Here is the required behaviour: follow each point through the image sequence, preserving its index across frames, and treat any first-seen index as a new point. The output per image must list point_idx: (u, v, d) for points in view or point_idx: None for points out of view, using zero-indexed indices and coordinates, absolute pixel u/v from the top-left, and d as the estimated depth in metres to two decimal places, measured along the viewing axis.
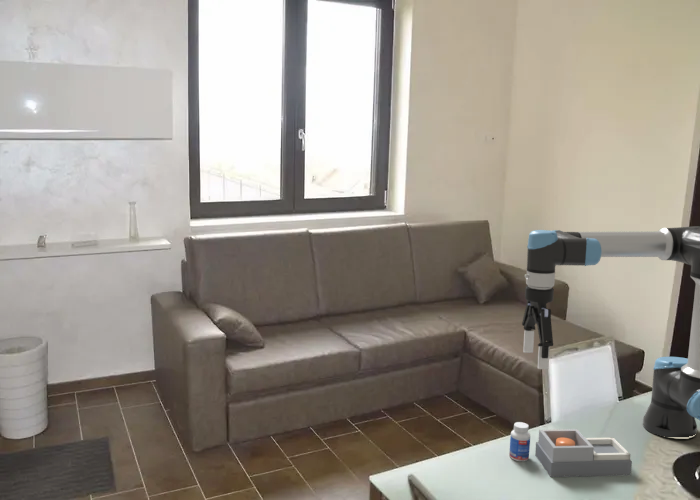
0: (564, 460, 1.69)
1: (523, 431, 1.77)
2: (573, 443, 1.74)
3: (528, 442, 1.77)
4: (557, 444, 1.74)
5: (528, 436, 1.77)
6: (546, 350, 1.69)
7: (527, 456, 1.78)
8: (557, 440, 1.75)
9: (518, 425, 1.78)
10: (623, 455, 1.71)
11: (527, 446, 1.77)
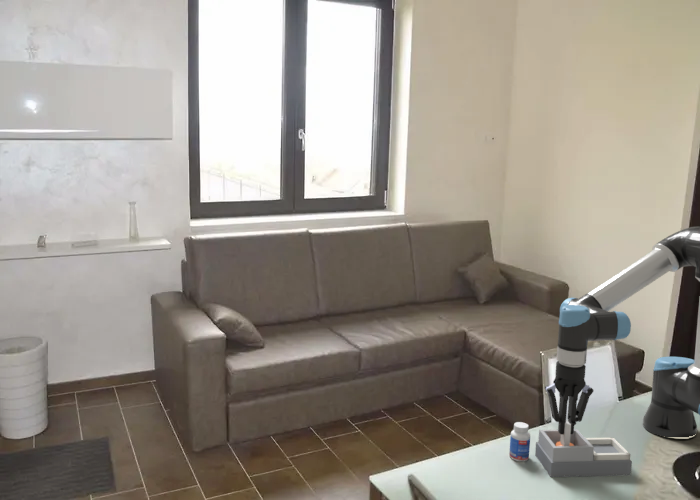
0: (564, 460, 1.69)
1: (523, 431, 1.77)
2: None
3: (528, 442, 1.77)
4: None
5: (528, 436, 1.77)
6: (559, 425, 1.74)
7: (527, 456, 1.78)
8: (557, 444, 1.75)
9: (518, 425, 1.78)
10: (623, 455, 1.71)
11: (527, 446, 1.77)
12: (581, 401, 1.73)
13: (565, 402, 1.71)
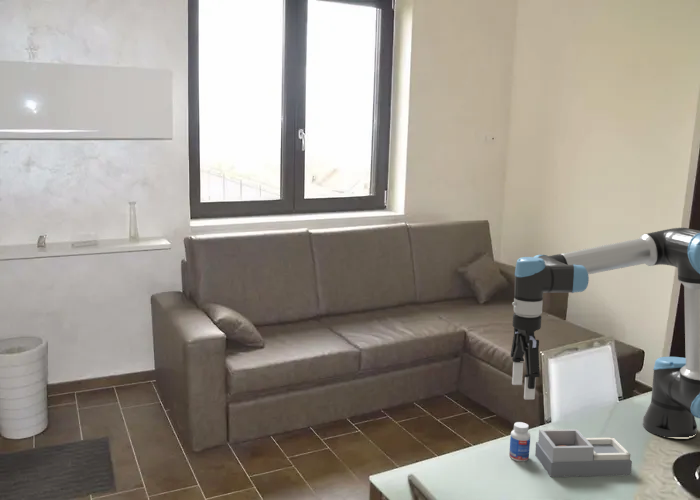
0: (564, 460, 1.69)
1: (523, 431, 1.77)
2: None
3: (528, 442, 1.77)
4: None
5: (528, 436, 1.77)
6: (532, 381, 1.69)
7: (527, 456, 1.78)
8: None
9: (518, 425, 1.78)
10: (623, 455, 1.71)
11: (527, 446, 1.77)
12: None
13: None
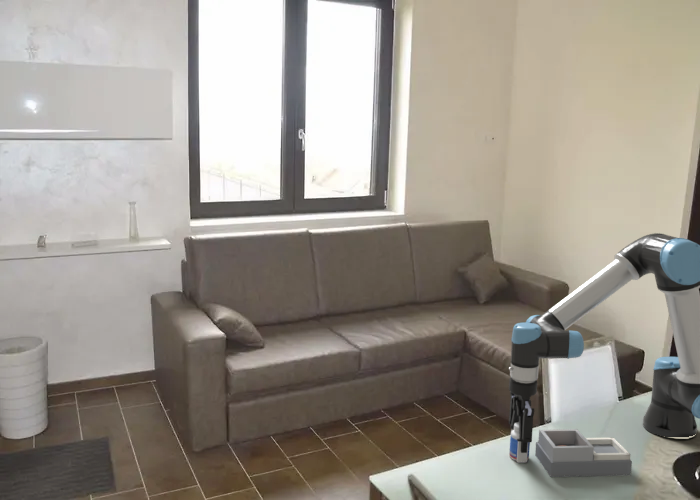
0: (564, 460, 1.69)
1: None
2: None
3: (528, 442, 1.77)
4: None
5: None
6: (525, 445, 1.75)
7: (527, 456, 1.78)
8: None
9: (518, 425, 1.78)
10: (623, 455, 1.71)
11: None
12: None
13: None
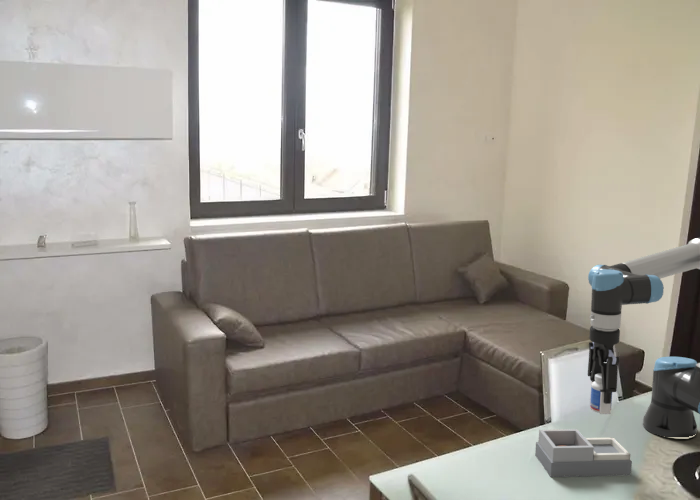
0: (564, 460, 1.69)
1: None
2: None
3: None
4: None
5: None
6: (609, 396, 1.69)
7: None
8: None
9: (600, 376, 1.72)
10: (623, 455, 1.71)
11: None
12: None
13: None
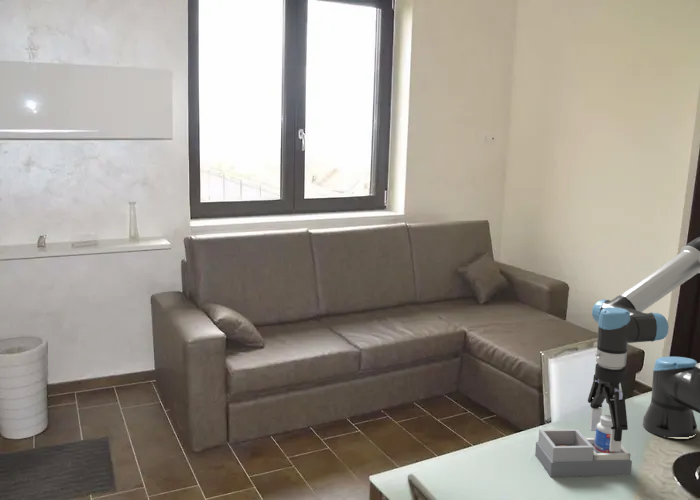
0: (564, 460, 1.69)
1: (611, 424, 1.72)
2: None
3: None
4: None
5: None
6: (619, 433, 1.67)
7: None
8: None
9: (605, 418, 1.73)
10: (623, 455, 1.71)
11: None
12: None
13: None
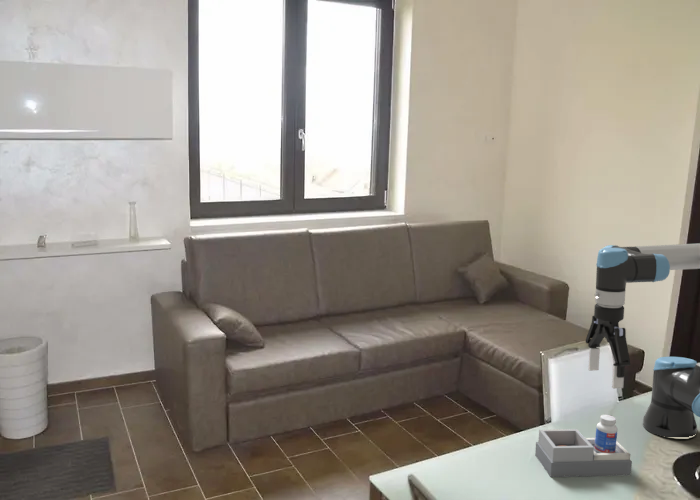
0: (564, 460, 1.69)
1: (611, 424, 1.72)
2: None
3: (616, 435, 1.73)
4: None
5: (616, 429, 1.73)
6: (622, 369, 1.68)
7: (614, 449, 1.74)
8: None
9: (605, 418, 1.74)
10: (623, 455, 1.71)
11: (615, 439, 1.73)
12: None
13: None
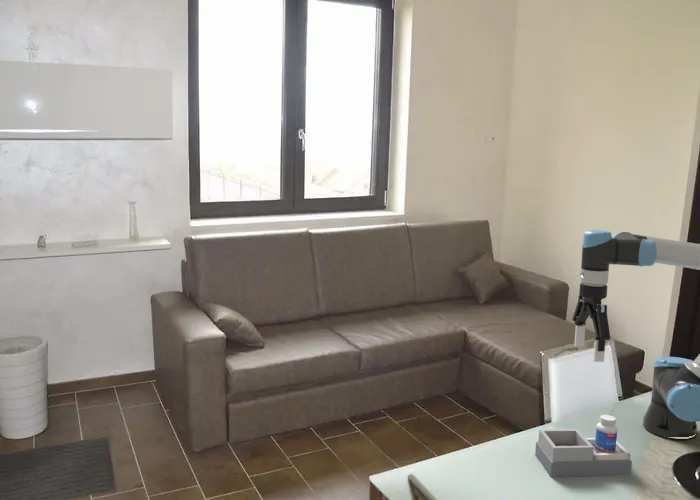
0: (564, 460, 1.69)
1: (612, 424, 1.72)
2: None
3: (616, 435, 1.73)
4: None
5: (616, 429, 1.73)
6: (603, 344, 1.79)
7: (614, 449, 1.74)
8: None
9: (605, 418, 1.74)
10: (623, 455, 1.71)
11: (615, 439, 1.73)
12: None
13: None
